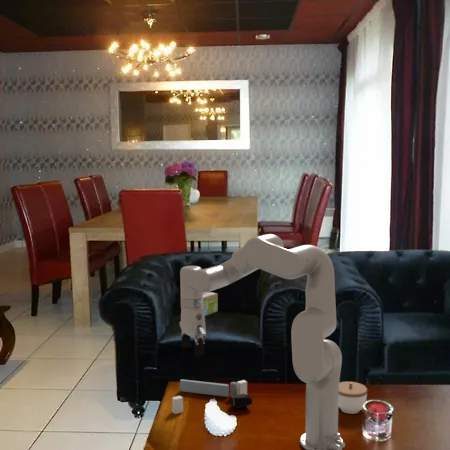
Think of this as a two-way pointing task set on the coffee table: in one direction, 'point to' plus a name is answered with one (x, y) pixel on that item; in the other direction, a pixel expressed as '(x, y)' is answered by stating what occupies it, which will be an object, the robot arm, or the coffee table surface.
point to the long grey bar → (204, 387)
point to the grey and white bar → (234, 389)
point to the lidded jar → (351, 397)
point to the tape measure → (240, 400)
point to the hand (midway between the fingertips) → (192, 351)
